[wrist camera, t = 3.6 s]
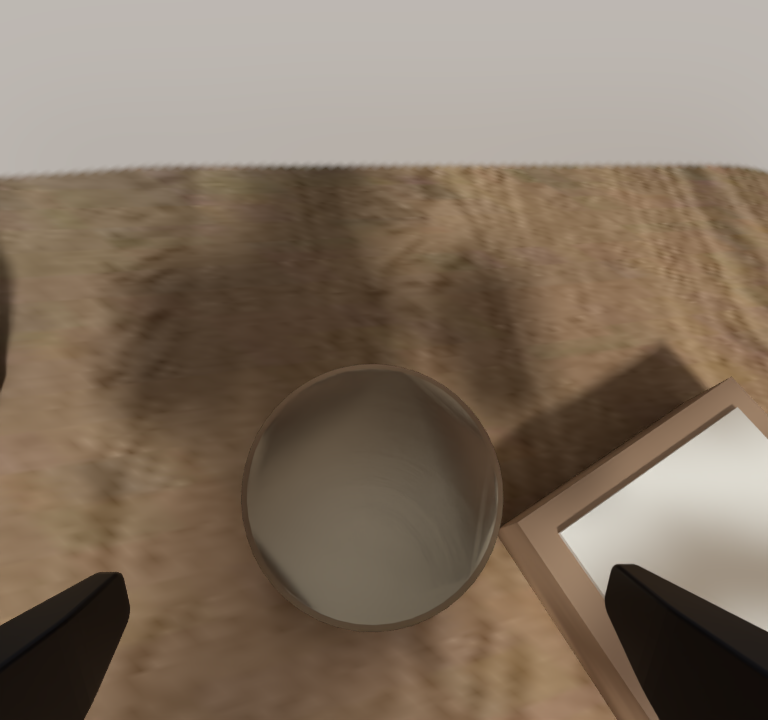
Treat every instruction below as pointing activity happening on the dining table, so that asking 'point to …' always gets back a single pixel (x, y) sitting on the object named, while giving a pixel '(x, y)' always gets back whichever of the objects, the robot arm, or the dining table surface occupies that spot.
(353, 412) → the lidded cylindrical jar
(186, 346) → the dining table surface
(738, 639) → the robot arm
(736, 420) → the base
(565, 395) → the dining table surface
